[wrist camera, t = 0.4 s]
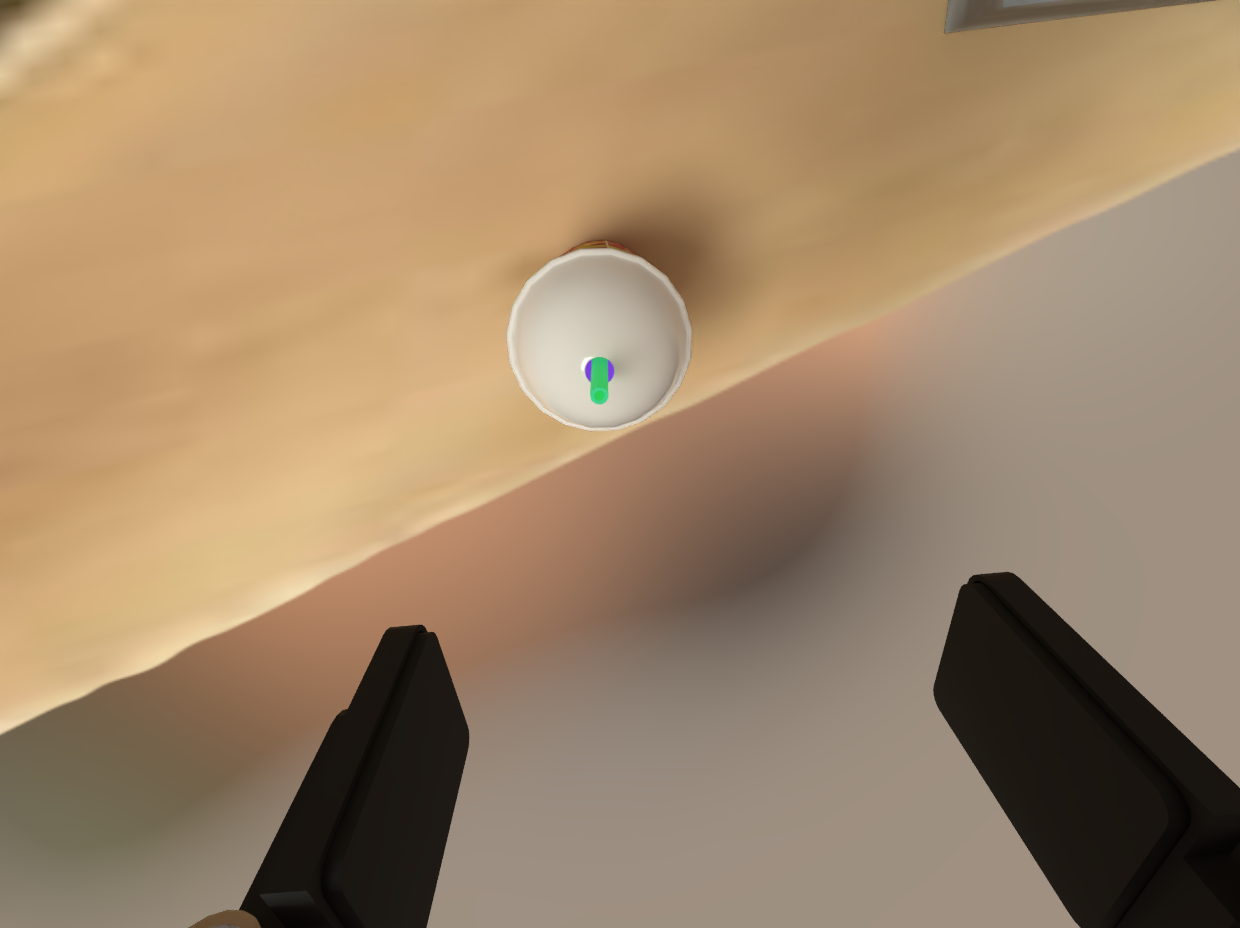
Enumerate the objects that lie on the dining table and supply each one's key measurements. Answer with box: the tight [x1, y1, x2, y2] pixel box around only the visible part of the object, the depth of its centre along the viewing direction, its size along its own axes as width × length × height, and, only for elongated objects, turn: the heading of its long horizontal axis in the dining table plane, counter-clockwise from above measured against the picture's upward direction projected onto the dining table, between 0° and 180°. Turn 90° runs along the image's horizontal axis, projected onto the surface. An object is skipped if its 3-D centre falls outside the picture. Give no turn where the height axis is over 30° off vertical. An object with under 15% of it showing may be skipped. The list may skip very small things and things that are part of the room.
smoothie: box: [506, 240, 692, 431], centre depth 28 cm, size 8×8×20 cm
